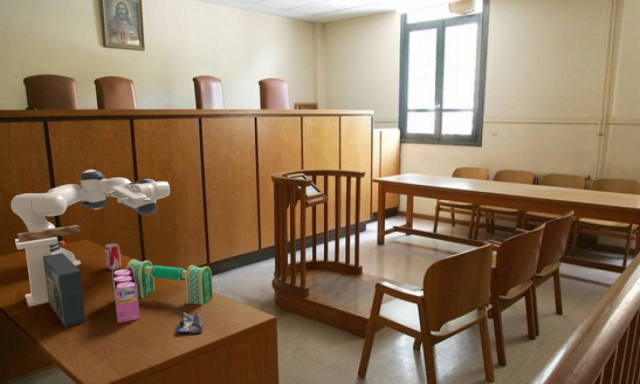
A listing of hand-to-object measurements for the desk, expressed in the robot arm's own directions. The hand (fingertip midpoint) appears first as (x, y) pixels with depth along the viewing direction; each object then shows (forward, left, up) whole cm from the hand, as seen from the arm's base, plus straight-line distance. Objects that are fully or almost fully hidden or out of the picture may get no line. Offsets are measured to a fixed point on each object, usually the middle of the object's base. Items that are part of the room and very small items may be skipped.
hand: (112, 197), depth 207 cm
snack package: (+29, +65, -39) cm, 81 cm away
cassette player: (+36, +10, -39) cm, 54 cm away
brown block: (+26, -8, -12) cm, 30 cm away
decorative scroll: (+10, +39, -39) cm, 55 cm away
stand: (+31, -11, -38) cm, 50 cm away
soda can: (-8, -13, -38) cm, 41 cm away
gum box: (+26, +31, -39) cm, 56 cm away
